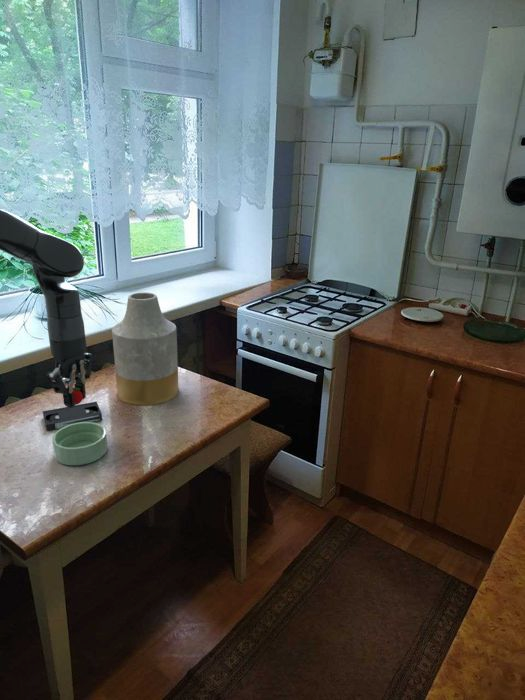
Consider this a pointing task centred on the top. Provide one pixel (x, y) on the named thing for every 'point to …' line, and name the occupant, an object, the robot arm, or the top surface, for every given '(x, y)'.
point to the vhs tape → (71, 415)
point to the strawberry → (77, 395)
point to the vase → (145, 353)
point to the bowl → (79, 443)
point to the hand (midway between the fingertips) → (75, 401)
